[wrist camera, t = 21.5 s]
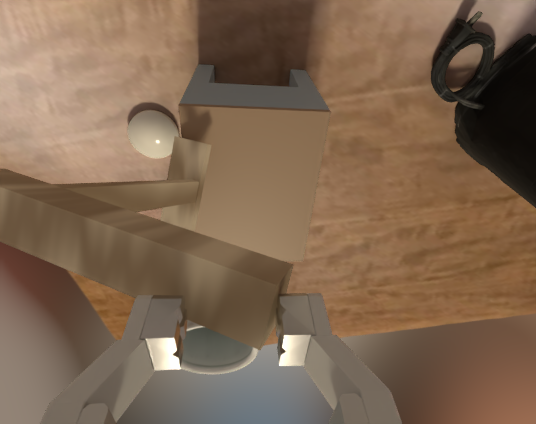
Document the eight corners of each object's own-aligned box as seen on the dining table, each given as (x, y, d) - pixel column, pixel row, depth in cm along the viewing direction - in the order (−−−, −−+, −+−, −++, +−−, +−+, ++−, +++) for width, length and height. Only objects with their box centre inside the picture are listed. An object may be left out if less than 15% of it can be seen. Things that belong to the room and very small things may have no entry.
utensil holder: (231, 232, 59) (227, 314, 45) (267, 278, 67) (273, 359, 53) (166, 261, 62) (144, 345, 48) (208, 301, 70) (200, 382, 57)
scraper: (-51, 93, 14) (302, 185, 10) (179, 137, 30) (344, 177, 26) (-58, 283, 15) (239, 431, 11) (164, 225, 32) (316, 277, 28)
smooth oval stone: (124, 109, 44) (121, 112, 43) (175, 108, 44) (173, 111, 43) (136, 155, 48) (134, 159, 47) (183, 154, 49) (182, 157, 48)
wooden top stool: (198, 64, 41) (178, 105, 28) (305, 70, 42) (330, 112, 30) (206, 192, 53) (195, 261, 40) (289, 194, 54) (302, 261, 42)
